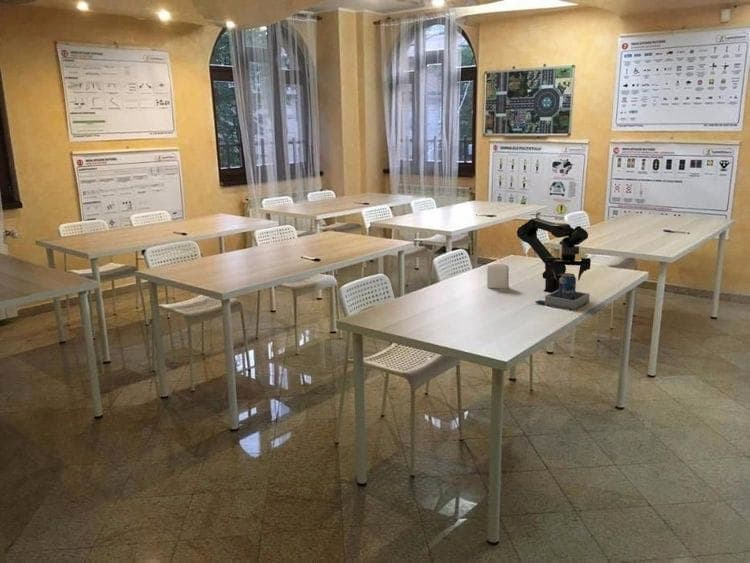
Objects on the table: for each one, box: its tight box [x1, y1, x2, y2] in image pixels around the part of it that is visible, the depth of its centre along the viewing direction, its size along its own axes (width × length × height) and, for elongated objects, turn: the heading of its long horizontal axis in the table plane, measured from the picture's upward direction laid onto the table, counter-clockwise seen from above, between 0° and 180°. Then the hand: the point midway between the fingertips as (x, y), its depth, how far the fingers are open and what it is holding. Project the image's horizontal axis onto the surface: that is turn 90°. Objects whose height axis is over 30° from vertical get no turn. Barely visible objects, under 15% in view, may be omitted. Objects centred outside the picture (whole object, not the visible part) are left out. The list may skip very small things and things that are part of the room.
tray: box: [544, 289, 590, 311], centre depth 276 cm, size 14×14×4 cm
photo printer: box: [486, 262, 510, 290], centre depth 304 cm, size 10×4×12 cm, turn 70°
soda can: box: [558, 272, 577, 300], centre depth 275 cm, size 7×7×12 cm
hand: (567, 279), depth 275 cm, fingers open, 9 cm apart
